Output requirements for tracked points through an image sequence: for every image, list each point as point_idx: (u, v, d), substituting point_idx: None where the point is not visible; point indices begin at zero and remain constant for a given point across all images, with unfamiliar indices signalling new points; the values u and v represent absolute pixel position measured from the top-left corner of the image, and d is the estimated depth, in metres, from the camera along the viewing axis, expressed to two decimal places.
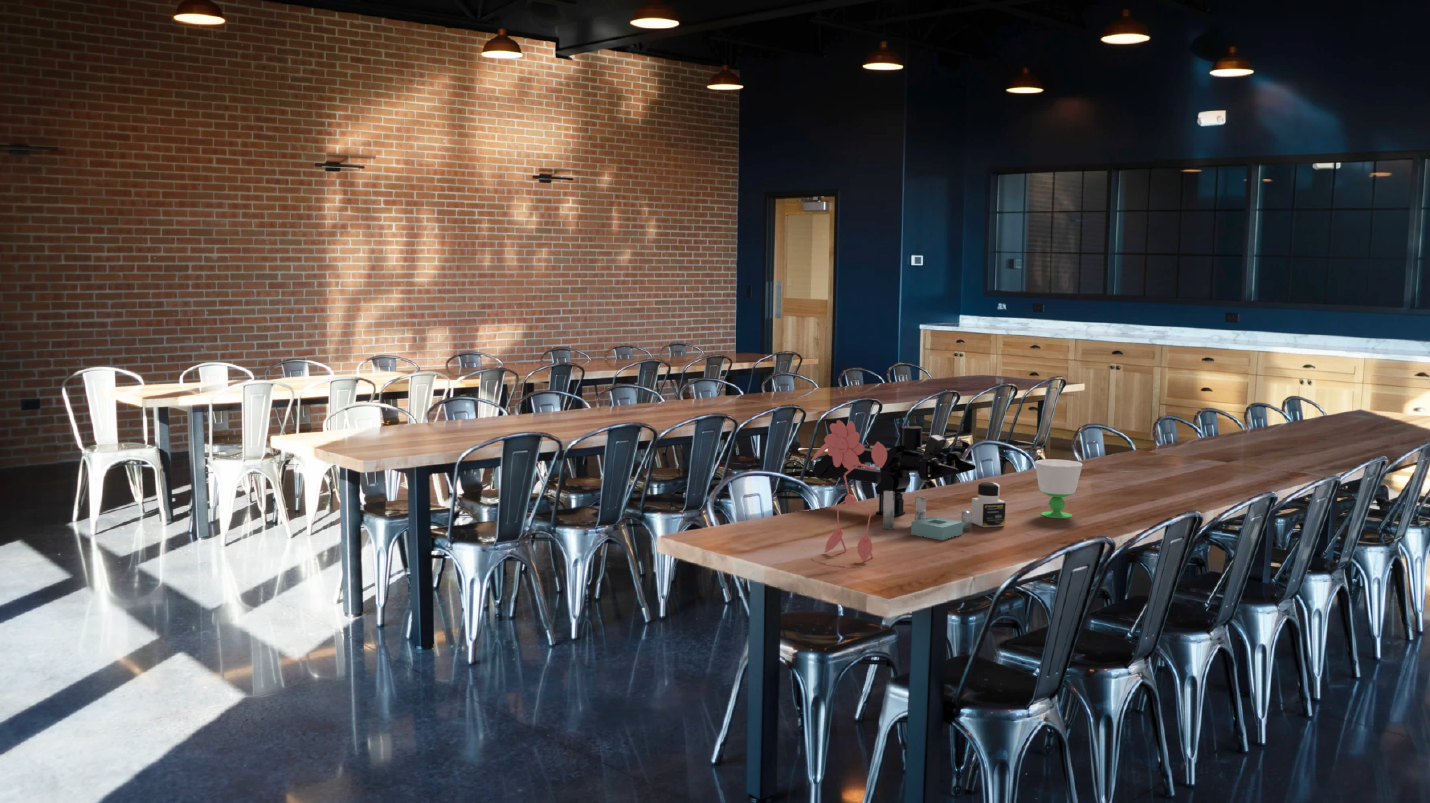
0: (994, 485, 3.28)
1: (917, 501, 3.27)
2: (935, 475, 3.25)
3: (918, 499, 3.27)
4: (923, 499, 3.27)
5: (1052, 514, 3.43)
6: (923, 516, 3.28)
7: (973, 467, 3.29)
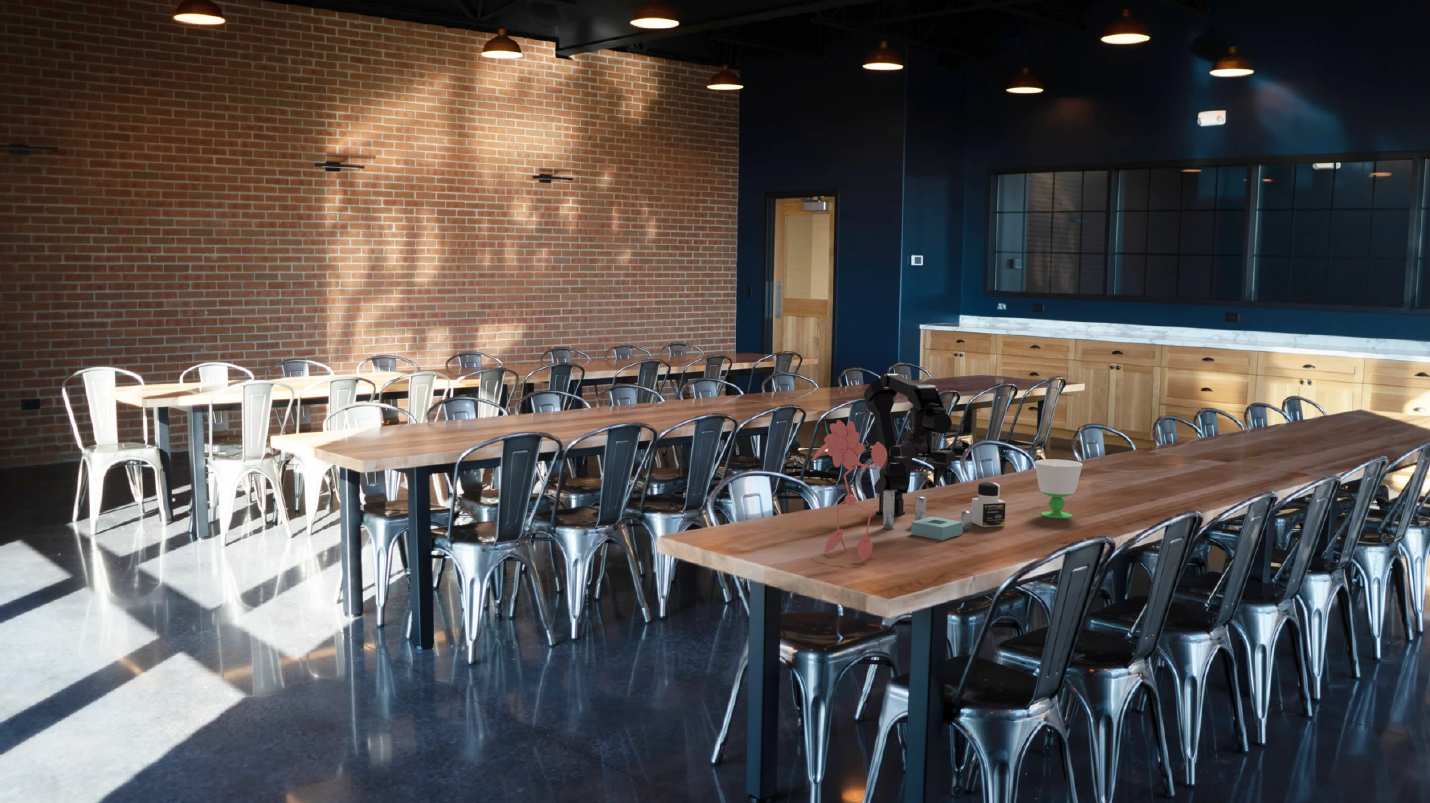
0: (994, 485, 3.28)
1: (917, 501, 3.27)
2: None
3: (918, 499, 3.27)
4: (923, 499, 3.27)
5: (1052, 514, 3.43)
6: (923, 516, 3.28)
7: None
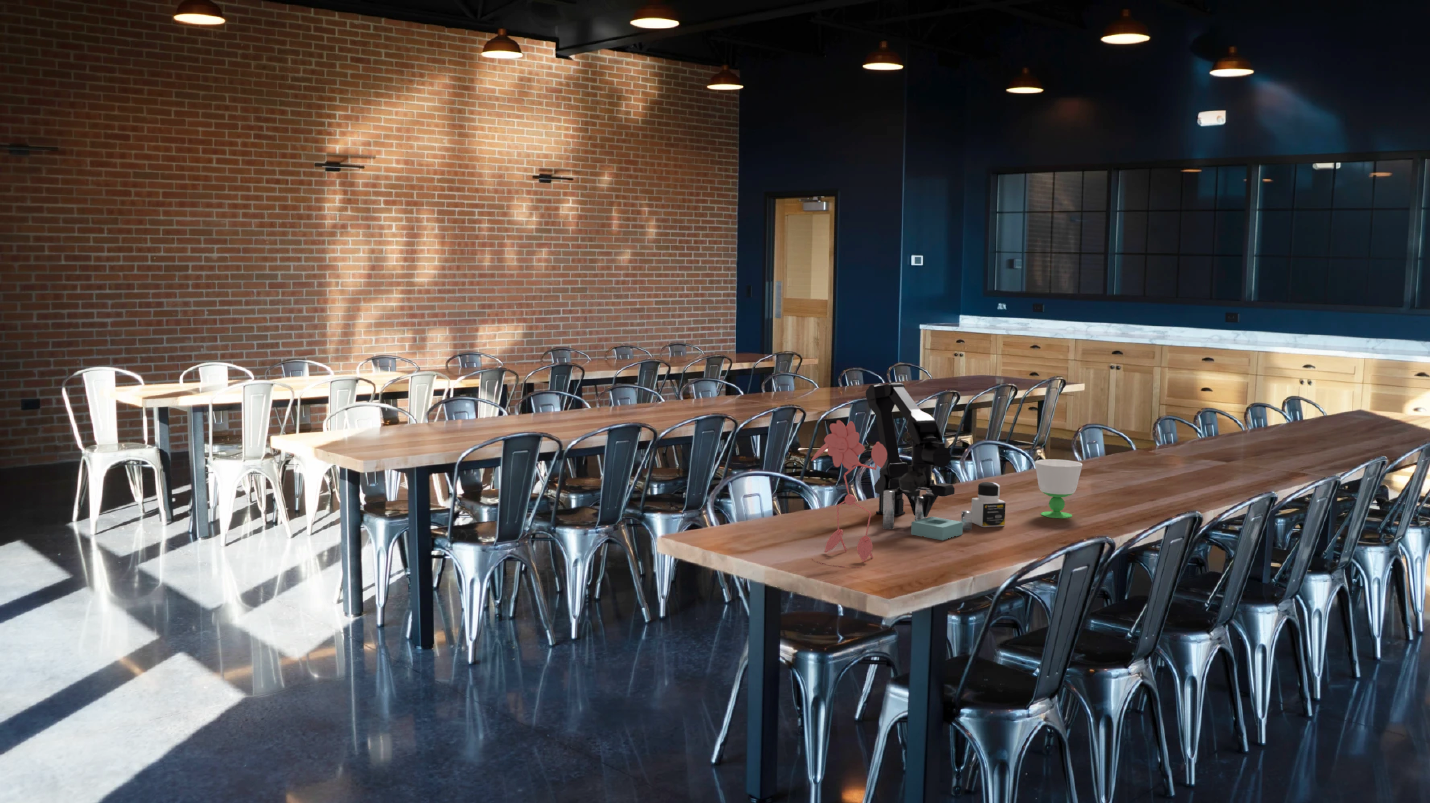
0: (994, 485, 3.28)
1: (917, 501, 3.27)
2: None
3: (918, 499, 3.27)
4: (923, 499, 3.27)
5: (1052, 514, 3.43)
6: (923, 516, 3.28)
7: None
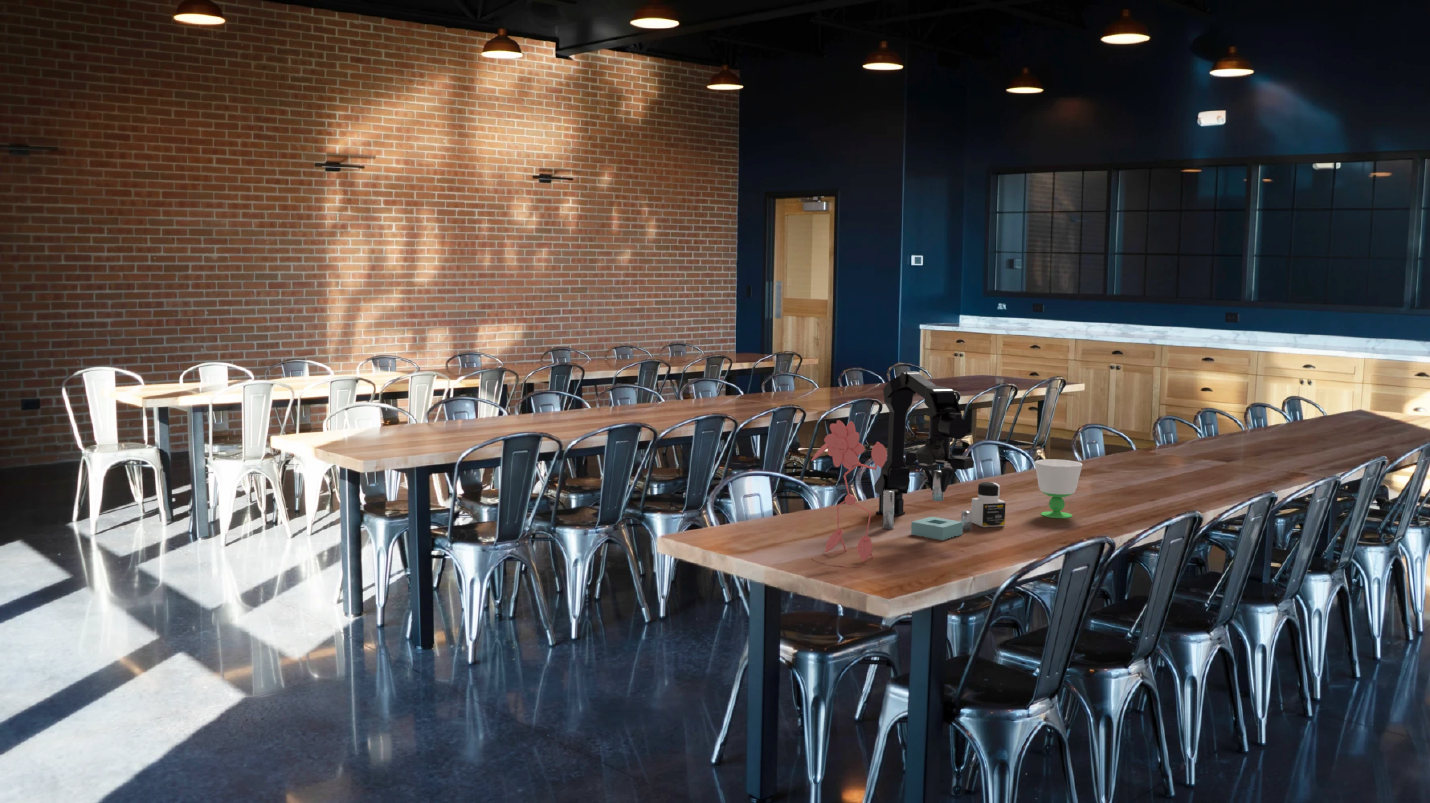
0: (994, 485, 3.28)
1: (935, 475, 3.15)
2: None
3: (936, 473, 3.14)
4: (941, 473, 3.14)
5: (1052, 514, 3.43)
6: (941, 491, 3.15)
7: None
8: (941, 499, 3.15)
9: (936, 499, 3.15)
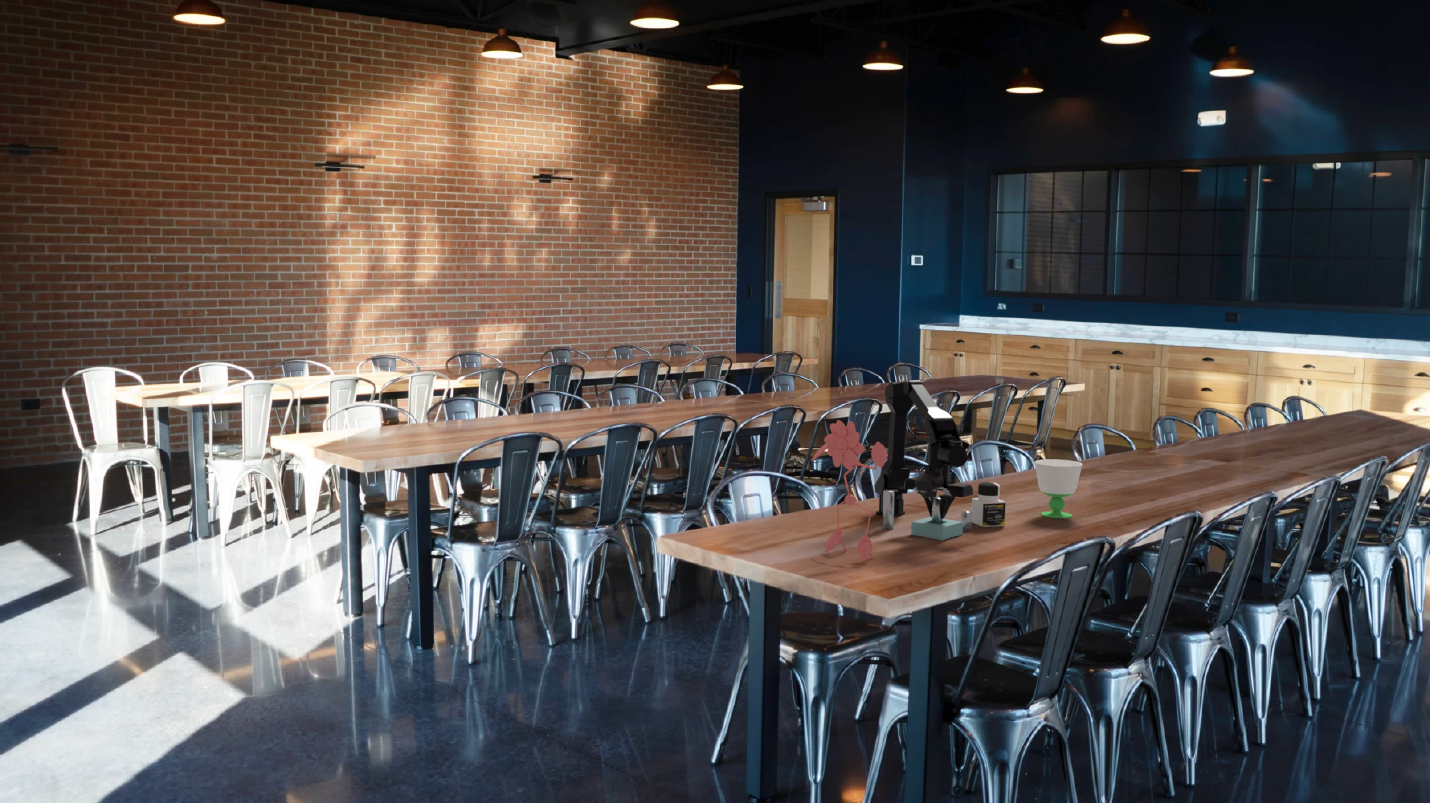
0: (994, 485, 3.28)
1: (934, 502, 3.15)
2: None
3: (935, 500, 3.15)
4: (940, 500, 3.15)
5: (1052, 514, 3.43)
6: (940, 517, 3.15)
7: None
8: None
9: None
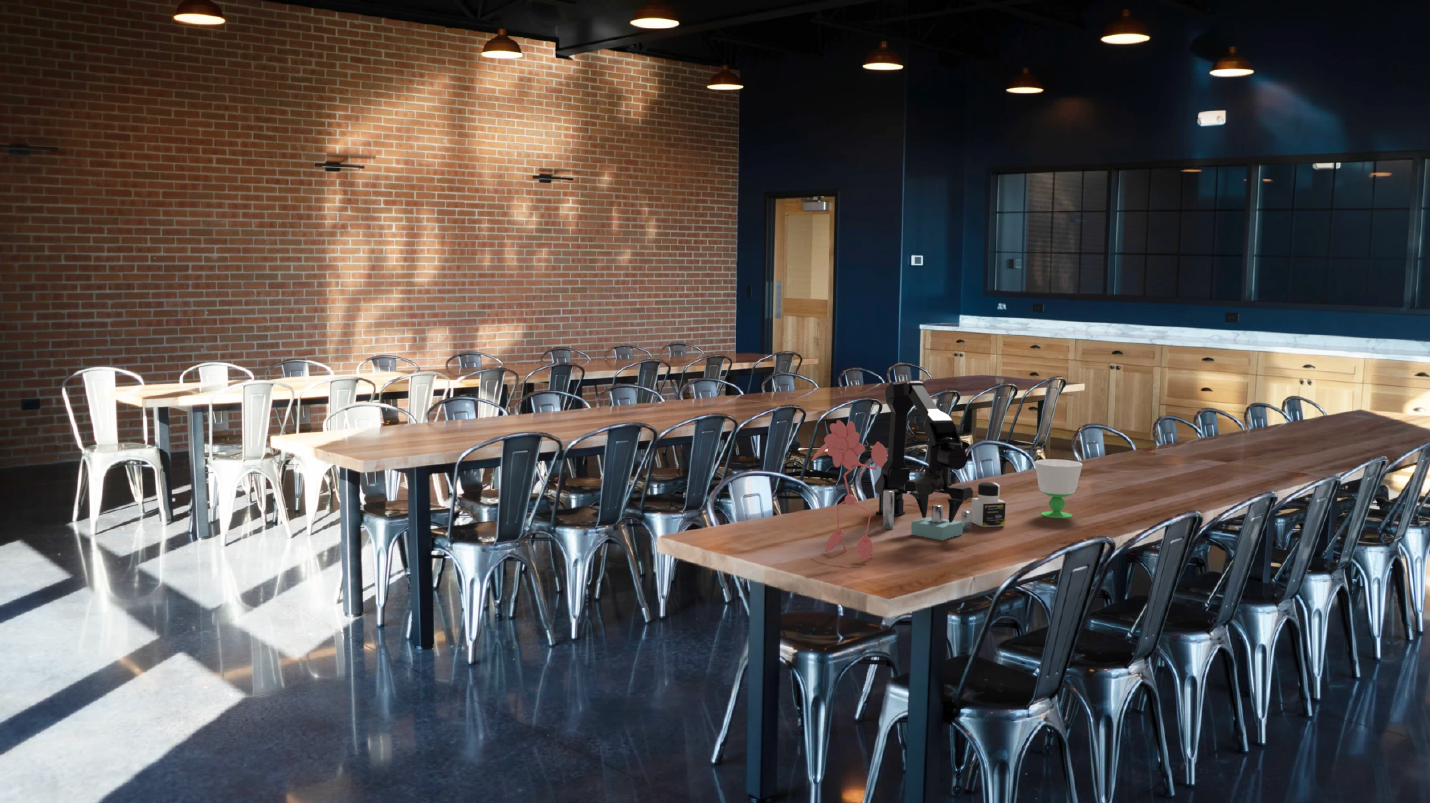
0: (994, 485, 3.28)
1: (934, 510, 3.16)
2: None
3: (935, 508, 3.15)
4: (940, 508, 3.15)
5: (1052, 514, 3.43)
6: None
7: None
8: None
9: None
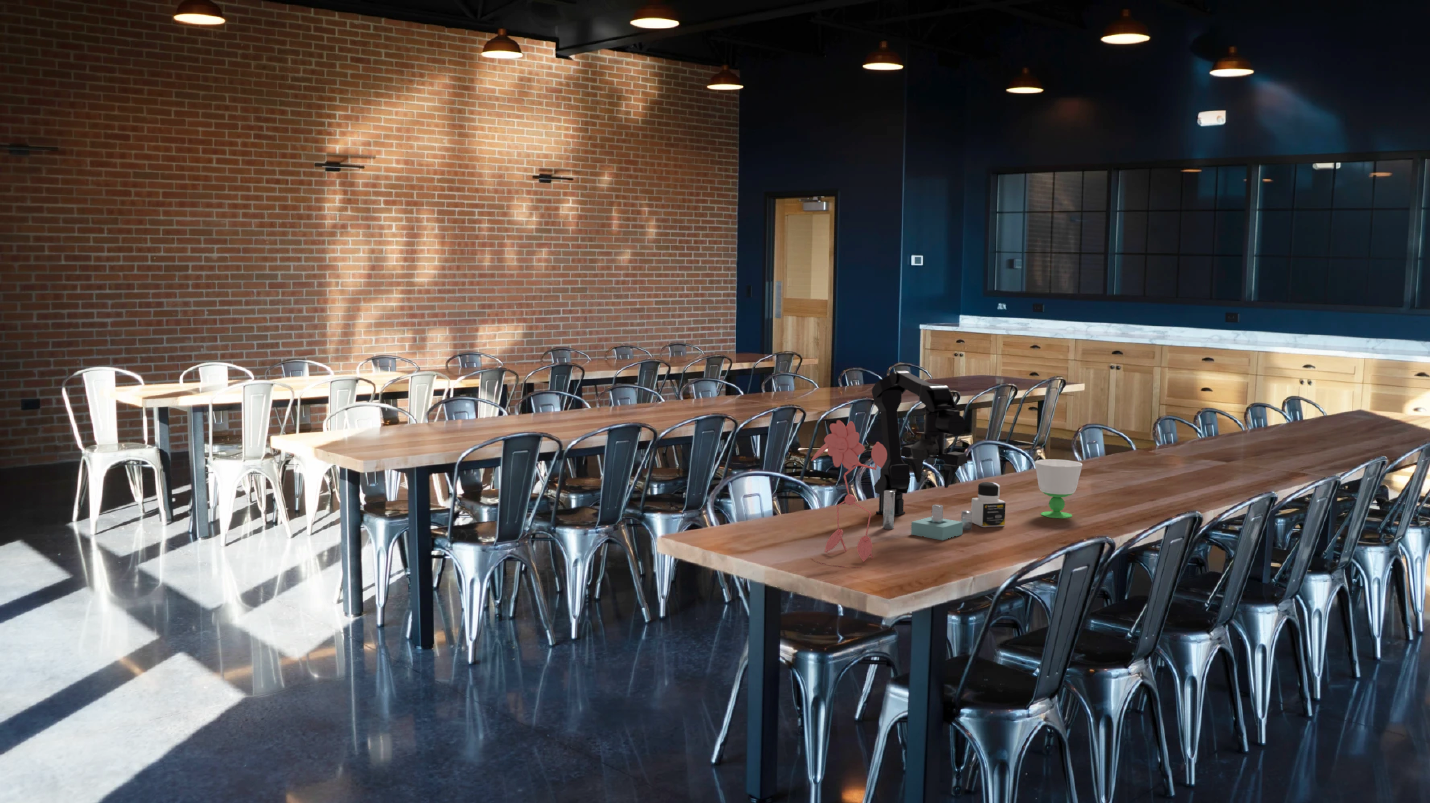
0: (994, 485, 3.28)
1: (934, 510, 3.16)
2: None
3: (935, 507, 3.15)
4: (940, 507, 3.15)
5: (1052, 514, 3.43)
6: None
7: None
8: None
9: None
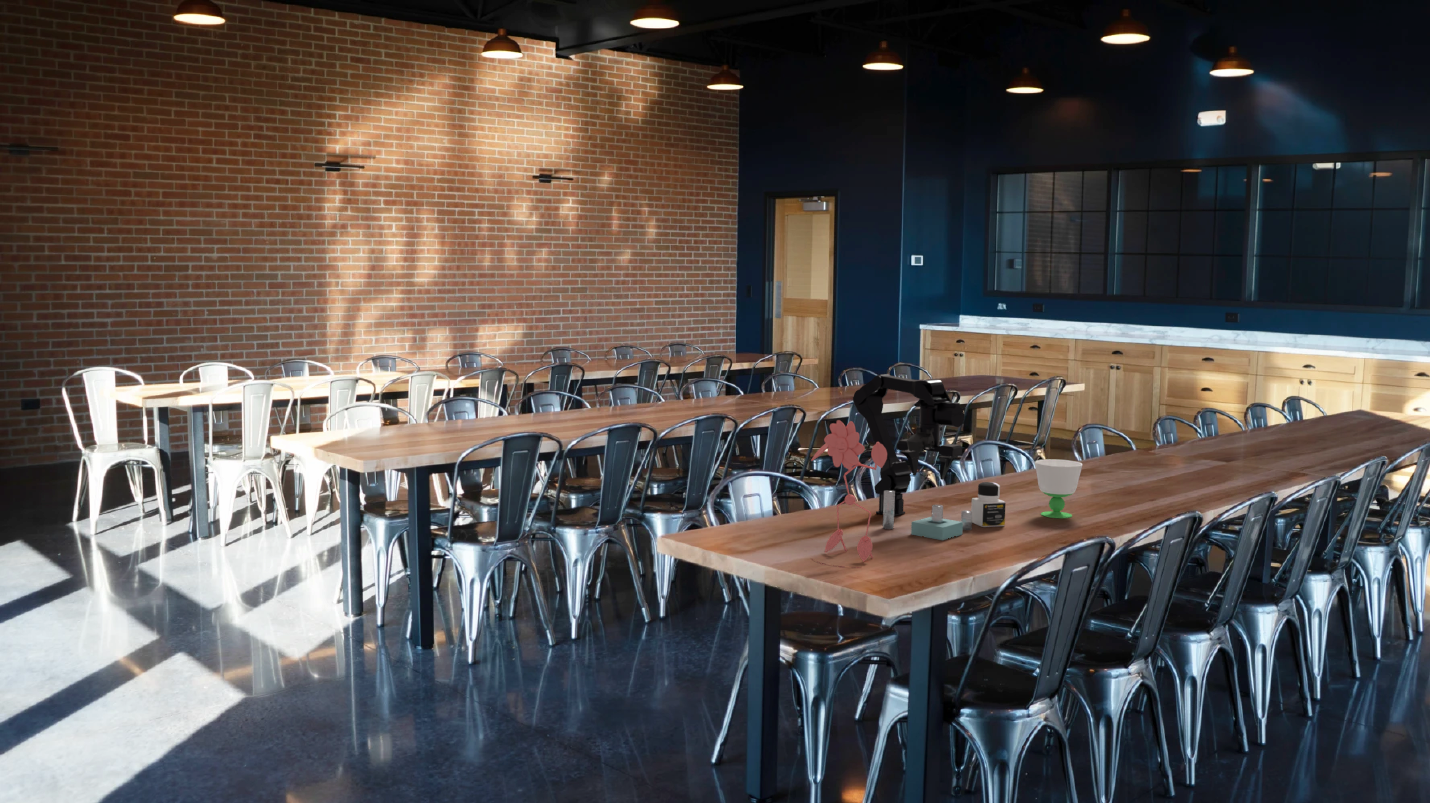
0: (994, 485, 3.28)
1: (934, 510, 3.16)
2: None
3: (935, 507, 3.15)
4: (940, 508, 3.15)
5: (1052, 514, 3.43)
6: None
7: None
8: None
9: None
